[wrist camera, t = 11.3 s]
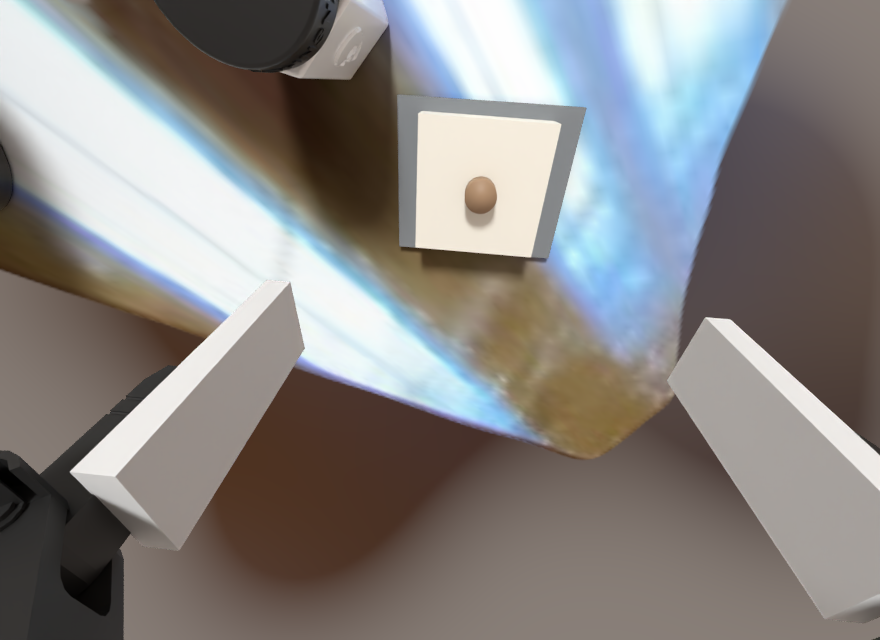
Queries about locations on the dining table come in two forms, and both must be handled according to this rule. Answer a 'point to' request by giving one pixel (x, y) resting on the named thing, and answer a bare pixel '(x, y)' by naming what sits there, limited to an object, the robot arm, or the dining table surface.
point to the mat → (415, 104)
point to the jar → (282, 33)
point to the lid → (482, 181)
